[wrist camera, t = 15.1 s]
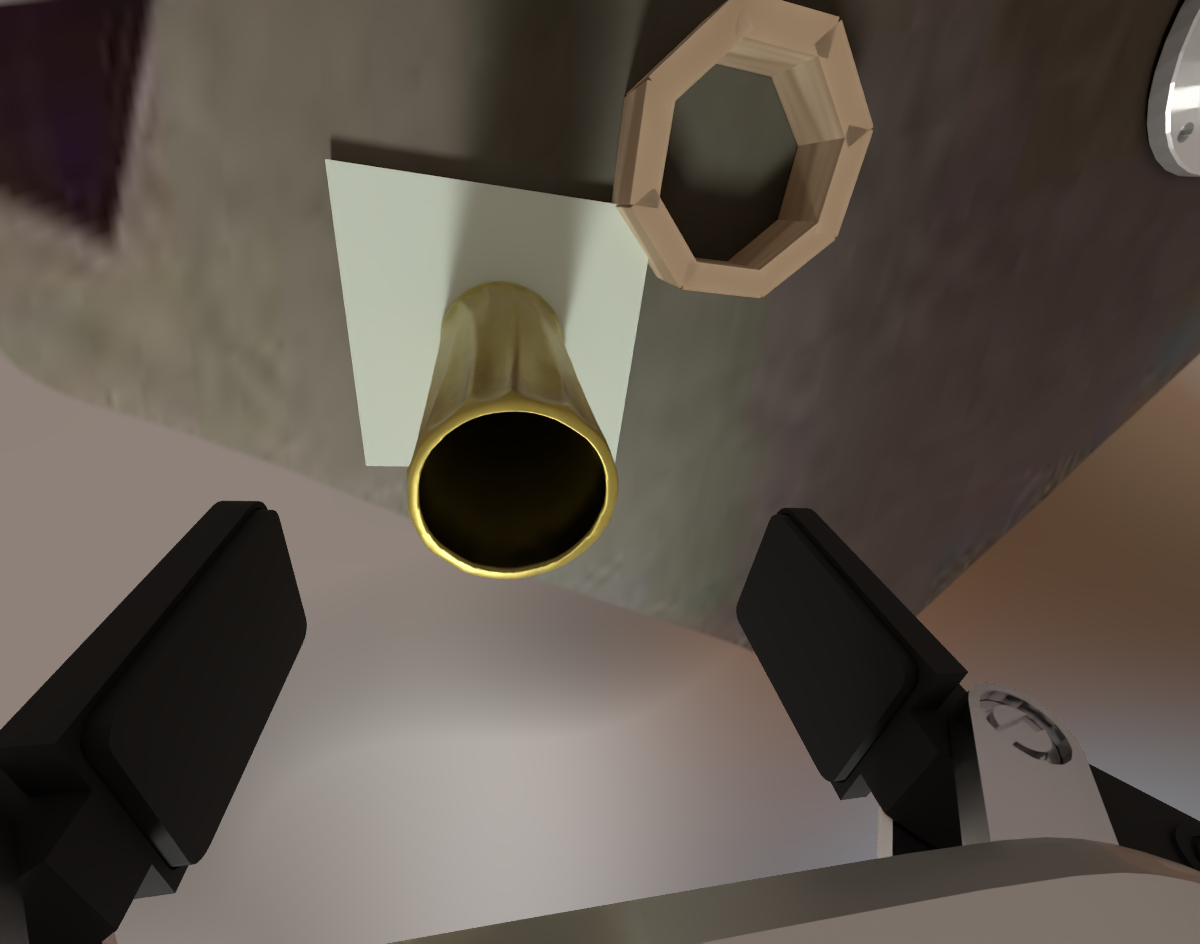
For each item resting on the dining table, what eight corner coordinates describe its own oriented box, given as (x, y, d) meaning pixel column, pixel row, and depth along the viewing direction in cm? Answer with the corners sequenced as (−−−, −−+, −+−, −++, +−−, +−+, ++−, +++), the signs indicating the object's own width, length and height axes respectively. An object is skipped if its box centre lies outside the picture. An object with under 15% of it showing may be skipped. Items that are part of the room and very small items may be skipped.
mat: (651, 210, 22) (656, 210, 22) (610, 462, 29) (613, 469, 28) (330, 160, 19) (324, 159, 18) (369, 458, 26) (366, 465, 25)
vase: (461, 412, 25) (431, 615, 13) (422, 292, 21) (334, 412, 9) (572, 389, 25) (646, 563, 13) (551, 270, 22) (623, 356, 10)
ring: (846, 59, 21) (905, 35, 18) (777, 292, 26) (814, 304, 23) (635, 3, 18) (662, -34, 16) (603, 271, 23) (619, 282, 20)
